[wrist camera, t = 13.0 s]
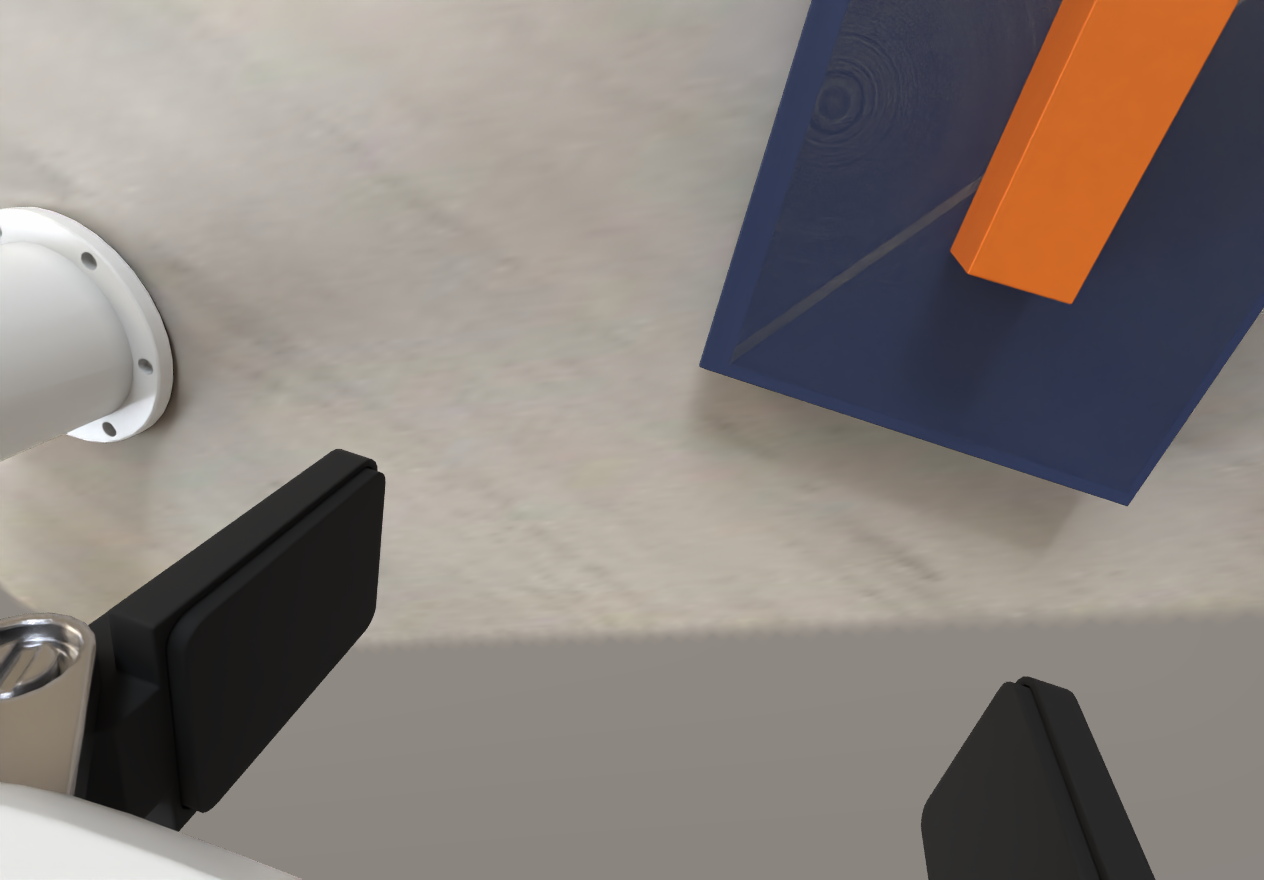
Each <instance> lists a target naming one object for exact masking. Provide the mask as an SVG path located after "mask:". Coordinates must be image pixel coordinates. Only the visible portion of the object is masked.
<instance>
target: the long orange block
mask: <svg viewBox="0 0 1264 880" xmlns="http://www.w3.org/2000/svg"><path fill="white" fill-rule="evenodd" d="M1238 2H1239V0H1063V1H1062V3H1061V5H1060V7H1059V10H1058V12H1057V14H1056V16H1055V18H1054V21H1053V23H1052V25H1051V27H1050V30H1049V32H1048V34H1047V36H1046V38H1045V41H1044V43H1043V45H1042V47H1041V50H1040V52H1039V54H1038V56H1037V58H1036V61H1035V63H1034V65H1033V67H1032V70H1031V72H1030V74H1029V76H1028V78H1027V81H1026V83H1025V85H1024V87H1023V90H1022V92H1021V94H1020V96H1019V98H1018V101H1017V103H1016V105H1015V107H1014V110H1013V112H1012V114H1011V116H1010V118H1009V121H1008V123H1007V125H1006V127H1005V129H1004V132H1003V134H1002V136H1001V138H1000V141H999V143H998V145H997V147H996V149H995V152H994V154H993V156H992V158H991V161H990V163H989V165H988V167H987V169H986V172H985V174H984V176H983V178H982V181H981V183H980V185H979V187H978V189H977V192H976V194H975V196H974V198H973V201H972V203H971V205H970V207H969V209H968V212H967V214H966V216H965V218H964V221H963V223H962V225H961V227H960V229H959V232H958V234H957V236H956V238H955V241H954V243H953V245H952V247H951V249H950V252H951V253H952V254H953V256H954V257H955V258H956V260H957V261H958V262H959V263H960V265H961V266H962V267H963V269H964V270H965V271H966V272H967V274H969V275H972V276H975V277H979V278H982V279H986V280H989V281H992V282H996V283H999V284H1002V285H1006V286H1009V287H1013V288H1016V289H1019V290H1023V291H1026V292H1030V293H1033V294H1036V295H1040V296H1043V297H1046V298H1050V299H1053V300H1057V301H1060V302H1063V303H1067V304H1072V303H1073V301H1074V300H1075V298H1076V296H1077V294H1078V292H1079V291H1080V289H1081V287H1082V285H1083V283H1084V281H1085V280H1086V278H1087V276H1088V274H1089V272H1090V271H1091V269H1092V267H1093V265H1094V263H1095V261H1096V260H1097V258H1098V256H1099V254H1100V252H1101V251H1102V249H1103V247H1104V245H1105V243H1106V242H1107V240H1108V238H1109V236H1110V234H1111V232H1112V231H1113V229H1114V227H1115V225H1116V223H1117V222H1118V220H1119V218H1120V216H1121V214H1122V212H1123V211H1124V209H1125V207H1126V205H1127V203H1128V202H1129V200H1130V198H1131V196H1132V194H1133V192H1134V191H1135V189H1136V187H1137V185H1138V183H1139V182H1140V180H1141V178H1142V176H1143V174H1144V173H1145V171H1146V169H1147V167H1148V165H1149V163H1150V162H1151V160H1152V158H1153V156H1154V154H1155V153H1156V151H1157V149H1158V147H1159V145H1160V143H1161V142H1162V140H1163V138H1164V136H1165V134H1166V133H1167V131H1168V129H1169V127H1170V125H1171V123H1172V122H1173V120H1174V118H1175V116H1176V114H1177V113H1178V111H1179V109H1180V107H1181V105H1182V104H1183V102H1184V100H1185V98H1186V96H1187V94H1188V93H1189V91H1190V89H1191V87H1192V85H1193V84H1194V82H1195V80H1196V78H1197V76H1198V74H1199V73H1200V71H1201V69H1202V67H1203V65H1204V64H1205V62H1206V60H1207V58H1208V56H1209V54H1210V53H1211V51H1212V49H1213V47H1214V45H1215V44H1216V42H1217V40H1218V38H1219V36H1220V35H1221V33H1222V31H1223V29H1224V27H1225V25H1226V24H1227V22H1228V20H1229V18H1230V16H1231V15H1232V13H1233V11H1234V9H1235V7H1236V5H1237V4H1238Z"/></svg>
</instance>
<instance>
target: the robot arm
mask: <svg viewBox="0 0 1264 880" xmlns="http://www.w3.org/2000/svg"><path fill="white" fill-rule="evenodd" d="M172 385H173V359H172V354H171V349H170V344H169V339H168V336H167V333H166V330H165V327H164V325H163V322H162V319H161V316H160V314H159V312H158V310H157V308H156V306H155V304H154V303H153V301H152V299H151V297H150V295H149V293H148V291H147V290H146V289H145V287H144V286H143V284H142V283H141V281H140V280H139V278H138V277H137V275H136V274H135V273H134V271H133V270H132V269H131V268H130V267H129V266H128V264H127V263H126V262H125V261H124V260H123V259H122V258H121V257H120V255H119V254H118V253H117V252H116V251H115V250H114V249H112V248H111V247H110V246H109V245H108V244H107V243H106V242H104V241H103V240H102V239H101V238H100V237H99V236H98V235H96V234H95V233H94V232H92V231H90V230H89V229H87V228H86V227H84V226H83V225H81V224H80V223H78V222H77V221H75V220H73V219H70V218H68V217H66V216H64V215H61V214H59V213H57V212H55V211H50V210H46V209H41V208H37V207H14V208H7V209H1V210H0V461H3V460H5V459H7V458H10V457H12V456H14V455H17V454H19V453H21V452H23V451H26V450H28V449H30V448H33V447H35V446H37V445H40V444H42V443H44V442H47V441H49V440H51V439H54V438H56V437H58V436H61V435H63V434H67V435H69V436H72V437H75V438H79V439H82V440H86V441H89V442H100V443H111V442H117V441H123V440H125V439H127V438H130V437H132V436H134V435H137V434H139V433H141V432H143V431H144V430H146V429H148V428H149V427H151V426H152V425H154V424H155V422H156V421H157V420H158V419H159V418H160V417H161V415H162V414H163V413H164V411H165V408H166V406H167V404H168V402H169V400H170V396H171V390H172ZM384 495H385V476H384V474H383V473H381V472H378V471H377V465H376V462H375V461H374V460H372V459H369V458H366V457H363V456H360V455H357V454H354V453H351V452H348V451H345V450H342V449H335V450H333V451H331V452H330V453H329V454H327V455H326V456H324V457H323V458H322V459H320V460H319V461H317V462H316V463H315V464H313V465H312V466H310V467H309V468H308V469H306V470H305V471H303V472H302V473H301V474H299V475H298V476H296V477H295V478H294V479H292V480H291V481H289V482H288V483H287V484H285V485H284V486H282V487H281V488H280V489H278V490H277V491H275V492H274V493H273V494H271V495H270V496H268V497H267V498H266V499H264V500H263V501H261V502H260V503H259V504H257V505H256V506H254V507H253V508H252V509H250V510H249V511H247V512H246V513H245V514H243V515H242V516H240V517H239V518H238V519H236V520H235V521H233V522H232V523H231V524H229V525H228V526H226V527H225V528H224V529H222V530H221V531H219V532H218V533H217V534H215V535H214V536H212V537H211V538H210V539H208V540H207V541H205V542H204V543H203V544H201V545H200V546H198V547H197V548H196V549H194V550H193V551H191V552H190V553H189V554H187V555H186V556H184V557H183V558H182V559H180V560H179V561H177V562H176V563H175V564H173V565H172V566H170V567H169V568H168V569H166V570H165V571H163V572H162V573H161V574H159V575H158V576H156V577H155V578H154V579H152V580H151V581H149V582H148V583H147V584H145V585H144V586H142V587H141V588H140V589H138V590H137V591H135V592H134V593H133V594H131V595H130V596H128V597H127V598H126V599H124V600H123V601H121V602H120V603H119V604H117V605H116V606H114V607H113V608H112V609H110V610H109V611H108V612H106V613H105V614H104V615H102V616H101V617H99V618H98V619H97V620H95V621H94V622H93V623H91V624H90V625H87V624H86V623H84V622H82V621H80V620H78V619H76V618H74V617H72V616H67V615H61V614H55V613H32V614H23V615H18V616H13V617H8V618H3V619H0V880H303V879H300V878H298V877H295V876H293V875H290V874H288V873H285V872H283V871H280V870H278V869H275V868H273V867H270V866H267V865H265V864H262V863H260V862H258V861H255V860H253V859H250V858H247V857H245V856H242V855H239V854H237V853H234V852H231V851H228V850H226V849H223V848H220V847H218V846H215V845H212V844H210V843H207V842H204V841H202V840H199V839H196V838H194V837H191V836H188V835H186V834H183V833H180V832H179V831H180V829H181V828H182V827H183V826H184V825H185V824H186V823H187V822H188V820H189V819H190V818H191V817H192V816H193V815H194V814H195V812H196V811H199V812H202V813H204V812H207V811H209V810H210V809H212V808H213V807H214V806H215V805H216V804H217V803H218V802H219V801H220V799H221V798H222V797H223V796H224V795H225V794H226V793H227V791H228V790H229V789H230V788H231V787H232V786H233V784H234V783H235V782H236V781H237V779H238V778H239V777H240V776H241V775H242V774H243V773H244V772H245V770H246V769H247V768H248V767H249V766H250V765H251V763H252V762H253V761H254V760H255V759H256V758H257V756H258V755H259V754H260V753H261V752H262V751H263V749H264V748H265V747H266V746H267V745H268V744H269V742H270V741H271V740H272V739H273V738H274V737H275V735H276V734H277V733H278V732H279V731H280V730H281V728H282V727H283V726H284V725H285V724H286V723H287V721H288V720H289V719H290V718H291V717H292V715H293V714H294V713H295V712H296V711H297V710H298V708H299V707H300V706H301V705H302V704H303V703H304V702H305V700H306V699H307V698H308V697H309V696H310V694H311V693H312V692H313V691H314V690H315V689H316V687H317V686H318V685H319V684H320V683H321V682H322V680H323V679H324V678H325V677H326V676H327V675H328V674H329V672H330V671H331V670H332V669H333V668H334V667H335V665H336V664H337V663H338V662H339V661H340V660H341V659H342V657H343V656H344V655H345V654H346V653H347V652H348V650H349V649H350V648H351V647H352V646H353V645H354V643H355V642H356V641H357V640H358V639H359V638H360V636H361V635H362V634H363V633H364V632H365V630H366V629H367V628H368V626H369V624H370V623H371V621H372V618H373V616H374V613H375V609H376V599H377V586H378V573H379V560H380V547H381V534H382V521H383V508H384ZM921 831H922V838H923V845H924V852H925V858H926V865H927V872H928V879H929V880H1155V878H1154V875H1153V873H1152V871H1151V869H1150V866H1149V864H1148V862H1147V859H1146V857H1145V855H1144V853H1143V850H1142V848H1141V846H1140V843H1139V841H1138V839H1137V837H1136V834H1135V832H1134V830H1133V827H1132V825H1131V823H1130V820H1129V819H1128V816H1127V814H1126V811H1125V809H1124V807H1123V804H1122V802H1121V800H1120V798H1119V795H1118V793H1117V791H1116V789H1115V786H1114V784H1113V782H1112V779H1111V777H1110V775H1109V773H1108V770H1107V768H1106V766H1105V763H1104V761H1103V759H1102V756H1101V754H1100V752H1099V750H1098V747H1097V745H1096V743H1095V740H1094V738H1093V736H1092V734H1091V731H1090V729H1089V727H1088V724H1087V722H1086V720H1085V717H1084V715H1083V713H1082V711H1081V708H1080V706H1079V704H1078V701H1077V699H1076V698H1075V696H1074V694H1073V693H1072V692H1071V691H1069V690H1067V689H1064V688H1061V687H1058V686H1055V685H1052V684H1049V683H1046V682H1043V681H1040V680H1037V679H1034V678H1031V677H1022V678H1020V679H1019V680H1018V681H1017V682H1016V683H1013V682H1006V683H1004V684H1003V685H1002V686H1001V687H1000V689H999V690H998V692H997V693H996V695H995V696H994V698H993V700H992V701H991V703H990V704H989V706H988V707H987V709H986V710H985V712H984V713H983V715H982V716H981V718H980V720H979V721H978V723H977V724H976V726H975V727H974V729H973V730H972V732H971V733H970V735H969V737H968V738H967V740H966V741H965V743H964V744H963V746H962V747H961V749H960V751H959V752H958V754H957V755H956V757H955V758H954V760H953V761H952V763H951V765H950V766H949V768H948V769H947V771H946V772H945V774H944V775H943V777H942V778H941V780H940V781H939V783H938V785H937V786H936V788H935V789H934V791H933V793H932V794H931V795H930V797H929V799H928V800H927V802H926V804H925V806H924V809H923V813H922V819H921Z"/></svg>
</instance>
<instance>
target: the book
mask: <svg viewBox="0 0 1264 880" xmlns="http://www.w3.org/2000/svg"><path fill="white" fill-rule="evenodd" d="M1062 1H1063V0H812V1H811V4H810V8H809V11H808V14H807V17H806V20H805V24H804V27H803V30H802V33H801V37H800V40H799V43H798V46H797V50H796V53H795V56H794V59H793V63H792V66H791V69H790V72H789V76H788V79H787V82H786V85H785V89H784V92H783V95H782V98H781V102H780V105H779V108H778V111H777V115H776V118H775V121H774V124H773V127H772V131H771V134H770V137H769V140H768V144H767V147H766V150H765V153H764V157H763V160H762V163H761V166H760V170H759V173H758V176H757V179H756V183H755V186H754V189H753V192H752V196H751V199H750V202H749V205H748V209H747V212H746V215H745V218H744V222H743V225H742V228H741V231H740V234H739V238H738V241H737V244H736V247H735V251H734V254H733V257H732V260H731V264H730V267H729V270H728V273H727V277H726V280H725V283H724V286H723V290H722V293H721V296H720V299H719V303H718V306H717V309H716V312H715V316H714V319H713V322H712V325H711V329H710V332H709V335H708V338H707V341H706V345H705V348H704V351H703V354H702V358H701V361H700V364H699V366H700V367H702V368H704V369H707V370H710V371H713V372H716V373H719V374H722V375H725V376H728V377H731V378H735V379H738V380H741V381H744V382H747V383H750V384H753V385H756V386H759V387H762V388H765V389H768V390H771V391H774V392H778V393H781V394H784V395H787V396H790V397H793V398H796V399H799V400H802V401H805V402H808V403H811V404H814V405H818V406H821V407H824V408H827V409H830V410H833V411H836V412H839V413H842V414H845V415H848V416H851V417H854V418H858V419H861V420H864V421H867V422H870V423H873V424H876V425H879V426H882V427H885V428H888V429H891V430H894V431H898V432H901V433H904V434H907V435H910V436H913V437H916V438H919V439H922V440H925V441H928V442H931V443H934V444H937V445H941V446H944V447H947V448H950V449H953V450H956V451H959V452H962V453H965V454H968V455H971V456H974V457H977V458H981V459H984V460H987V461H990V462H993V463H996V464H999V465H1002V466H1005V467H1008V468H1011V469H1014V470H1017V471H1021V472H1024V473H1027V474H1030V475H1033V476H1036V477H1039V478H1042V479H1045V480H1048V481H1051V482H1054V483H1057V484H1061V485H1064V486H1067V487H1070V488H1073V489H1076V490H1079V491H1082V492H1085V493H1088V494H1091V495H1094V496H1097V497H1101V498H1104V499H1107V500H1110V501H1113V502H1116V503H1119V504H1122V505H1125V506H1128V505H1129V503H1130V502H1131V501H1132V499H1133V498H1134V496H1135V495H1136V493H1137V492H1138V490H1139V489H1140V487H1141V486H1142V484H1143V483H1144V482H1145V480H1146V479H1147V477H1148V476H1149V474H1150V473H1151V471H1152V470H1153V468H1154V467H1155V466H1156V464H1157V463H1158V461H1159V460H1160V458H1161V457H1162V455H1163V454H1164V452H1165V451H1166V449H1167V448H1168V447H1169V445H1170V444H1171V442H1172V441H1173V439H1174V438H1175V436H1176V435H1177V433H1178V432H1179V430H1180V429H1181V428H1182V426H1183V425H1184V423H1185V422H1186V420H1187V419H1188V417H1189V416H1190V414H1191V413H1192V412H1193V410H1194V409H1195V407H1196V406H1197V404H1198V403H1199V401H1200V400H1201V398H1202V397H1203V395H1204V394H1205V393H1206V391H1207V390H1208V388H1209V387H1210V385H1211V384H1212V382H1213V381H1214V379H1215V378H1216V376H1217V375H1218V374H1219V372H1220V371H1221V369H1222V368H1223V366H1224V365H1225V363H1226V362H1227V360H1228V359H1229V358H1230V356H1231V355H1232V353H1233V352H1234V350H1235V349H1236V347H1237V346H1238V344H1239V343H1240V341H1241V340H1242V339H1243V337H1244V336H1245V334H1246V333H1247V331H1248V330H1249V328H1250V327H1251V325H1252V324H1253V322H1254V321H1255V320H1256V318H1257V317H1258V315H1259V314H1260V312H1261V311H1262V309H1263V308H1264V0H1239V2H1238V4H1237V5H1236V7H1235V9H1234V11H1233V13H1232V15H1231V16H1230V18H1229V20H1228V22H1227V24H1226V25H1225V27H1224V29H1223V31H1222V33H1221V35H1220V36H1219V38H1218V40H1217V42H1216V44H1215V45H1214V47H1213V49H1212V51H1211V53H1210V54H1209V56H1208V58H1207V60H1206V62H1205V64H1204V65H1203V67H1202V69H1201V71H1200V73H1199V74H1198V76H1197V78H1196V80H1195V82H1194V84H1193V85H1192V87H1191V89H1190V91H1189V93H1188V94H1187V96H1186V98H1185V100H1184V102H1183V104H1182V105H1181V107H1180V109H1179V111H1178V113H1177V114H1176V116H1175V118H1174V120H1173V122H1172V123H1171V125H1170V127H1169V129H1168V131H1167V133H1166V134H1165V136H1164V138H1163V140H1162V142H1161V143H1160V145H1159V147H1158V149H1157V151H1156V153H1155V154H1154V156H1153V158H1152V160H1151V162H1150V163H1149V165H1148V167H1147V169H1146V171H1145V173H1144V174H1143V176H1142V178H1141V180H1140V182H1139V183H1138V185H1137V187H1136V189H1135V191H1134V192H1133V194H1132V196H1131V198H1130V200H1129V202H1128V203H1127V205H1126V207H1125V209H1124V211H1123V212H1122V214H1121V216H1120V218H1119V220H1118V222H1117V223H1116V225H1115V227H1114V229H1113V231H1112V232H1111V234H1110V236H1109V238H1108V240H1107V242H1106V243H1105V245H1104V247H1103V249H1102V251H1101V252H1100V254H1099V256H1098V258H1097V260H1096V261H1095V263H1094V265H1093V267H1092V269H1091V271H1090V272H1089V274H1088V276H1087V278H1086V280H1085V281H1084V283H1083V285H1082V287H1081V289H1080V291H1079V292H1078V294H1077V296H1076V298H1075V300H1074V301H1073V303H1072V304H1067V303H1063V302H1060V301H1057V300H1053V299H1050V298H1046V297H1043V296H1040V295H1036V294H1033V293H1030V292H1026V291H1023V290H1019V289H1016V288H1013V287H1009V286H1006V285H1002V284H999V283H996V282H992V281H989V280H986V279H982V278H979V277H975V276H972V275H969V274H967V272H966V271H965V270H964V269H963V267H962V266H961V265H960V263H959V262H958V261H957V260H956V258H955V257H954V256H953V254H952V253H951V252H950V249H951V247H952V245H953V243H954V241H955V238H956V236H957V234H958V232H959V229H960V227H961V225H962V223H963V221H964V218H965V216H966V214H967V212H968V209H969V207H970V205H971V203H972V201H973V198H974V196H975V194H976V192H977V189H978V187H979V185H980V183H981V181H982V178H983V176H984V174H985V172H986V169H987V167H988V165H989V163H990V161H991V158H992V156H993V154H994V152H995V149H996V147H997V145H998V143H999V141H1000V138H1001V136H1002V134H1003V132H1004V129H1005V127H1006V125H1007V123H1008V121H1009V118H1010V116H1011V114H1012V112H1013V110H1014V107H1015V105H1016V103H1017V101H1018V98H1019V96H1020V94H1021V92H1022V90H1023V87H1024V85H1025V83H1026V81H1027V78H1028V76H1029V74H1030V72H1031V70H1032V67H1033V65H1034V63H1035V61H1036V58H1037V56H1038V54H1039V52H1040V50H1041V47H1042V45H1043V43H1044V41H1045V38H1046V36H1047V34H1048V32H1049V30H1050V27H1051V25H1052V23H1053V21H1054V18H1055V16H1056V14H1057V12H1058V10H1059V7H1060V5H1061V3H1062Z"/></svg>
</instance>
